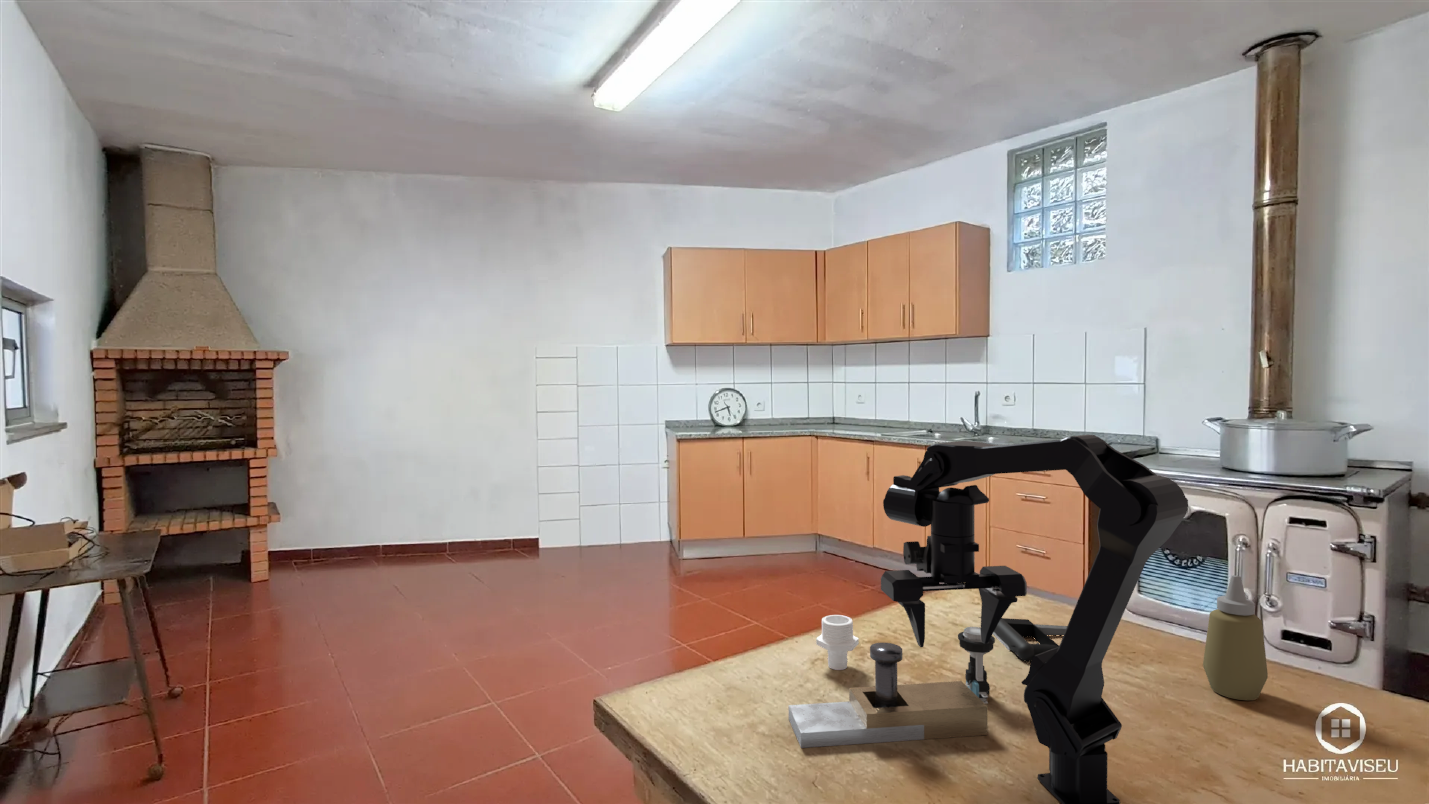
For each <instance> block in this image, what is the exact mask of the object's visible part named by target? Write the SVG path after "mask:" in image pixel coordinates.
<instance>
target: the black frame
mask: <svg viewBox="0 0 1429 804" xmlns="http://www.w3.org/2000/svg"><path fill="white" fill-rule="evenodd" d="M978 619H981V616H980V617H979V616H978ZM1067 626H1068V625H1055V624H1053V625H1051V624H1039V623H1038V624H1037V623H1036V624H1035V623H1033V622H1032V621H1031V620H1029V619H1023V618H1008V617H1007V618H1006V617H1004V618H1003V617H1002V618H1001V619H1000V621H999V623H998V625H997V627H996V629H995V630H994V632H993V634H992V636H993V637H994V638H995V639H997V640H998V641H999V642H1000V643H1001V644H1002V645H1003V646H1004V647H1005V648H1006V649H1007V650H1008V652H1010V653H1014V654H1015V655H1016V656H1017V657H1018V658H1019V659H1020V660H1021V661H1023V662H1031V661H1032V659H1033V657H1034V656H1036V655H1038V654H1041V653H1044V652H1046V651H1049V650H1052V649H1054V648H1057V647H1059V645H1060V644H1058V643H1056V642H1055V641H1054V640H1053V639H1052V638H1051V637H1050V636H1047V635H1064V633H1065V631H1066V628H1067ZM1025 638H1032V639H1034V638H1035V639H1034V640H1035V641H1036V642H1037V641H1038V642H1039V643H1040V644H1039V643H1038V642H1037V643H1029V641H1027V640H1026V639H1025Z"/></svg>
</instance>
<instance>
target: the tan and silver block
mask: <svg viewBox="0 0 1429 804" xmlns="http://www.w3.org/2000/svg"><path fill="white" fill-rule="evenodd" d="M848 690H849V691H848V692H849V693H848V696H849V697H848V698H849V701H837V702H836V701H835V702H821V703H820V702H819V703H803V704H790V705H789V704H788V721H789V722H790V726H791V728H792V730H793V733H794V735H795V737H796V739H797V742H798V744H799V746H800V748H801V749H803V748H819V747H820V748H821V747H833V746H846V745H847V746H848V745H861V744H862V745H863V744H876V743H889V742H902V741H903V742H905V741H916V740H917V741H918V740H919V741H921V740H932V739H933V740H934V739H944V738H946V739H948V738H960V737H975V736H977V737H978V736H988V735H989V734H988V731H989V730H988V725H989V724H988V719H989V718H988V717H989V716H988V715H989V714H988V710H989V709H988V705H987V704H985V703H984V702H985V701H982V700H981V699H980V698H979V697H977V696H976V695H975V694H974V693H973V692H972V691H971V690H970V689H969V688H968V687H967V686H966V684H965V683H964V682H963V681H962V680H957V681H956V680H955V681H941V682H925V683H924V682H923V683H909V684H908V683H905V684H897V707H884V708H875V686H873V685H872V686H860V687H858V686H857V687H849V688H848Z"/></svg>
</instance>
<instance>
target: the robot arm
mask: <svg viewBox="0 0 1429 804" xmlns="http://www.w3.org/2000/svg"><path fill="white" fill-rule="evenodd" d="M1064 470H1065V471H1067V472H1068V473H1069V474H1070V475H1072V477H1073V479H1075V481H1076V483H1077V485H1078V487H1079V488H1080V490H1081V491H1082V493H1083V494H1084V496H1086V498H1087V499H1088V500H1090V501H1091V502H1092V503H1093V504H1094V505H1095V506H1096V507H1098V508H1099V511H1098V516H1097V521H1096V526H1097V534H1098V541H1099V547H1098V551H1097V553H1096V556H1095V559H1094V560H1093V563H1092V566H1091V567H1090V570H1089V573H1088V575H1087V578H1086V580H1085V582H1084V586H1083V587H1082V590H1081V593H1080V595H1079V597H1078V599H1077V602H1076V605H1075V607H1074V608H1073V612H1072V614H1071V617H1070V618H1069V621H1068V623H1067V625H1066V626H1067V628H1066V631H1065V633H1064V636H1062V639H1061V641H1060V643H1059V644H1058V645H1059V647H1057V648H1054V649H1052V650H1049V651H1046V652H1044V653H1041V654H1038V655H1036V656H1034V657H1033V659H1032V661H1030V663H1029V664H1030V665H1029V670H1028V673H1027V675H1026V677H1025V678H1024V679H1023V680H1021V685H1024V686H1025V688H1024V691H1023V700H1024V701H1023V702H1024V703H1025V704H1026V707H1027V708H1028V711H1029V714H1030V717H1031V722H1032V724H1033V727H1034V731H1035V733H1036V734H1035V735H1036V737H1037V738H1036V739H1037V741H1038V743H1039V744H1040V745H1043V746H1045V747H1047V748H1048V752H1049V753H1048V755H1049V756H1048V761H1049V763H1048V770H1049V772H1048V773H1047V772H1046V773H1038V774H1037V780H1038V781H1039V782H1040V783H1041V784H1042V785H1043V786H1044V787H1045V788H1046V789H1047V790H1048V791H1049V792H1050V794H1051V795H1053V796H1054V797H1055V798H1056V800H1058V802H1060V804H1121V800H1120V799H1119V798H1118V797H1117V796H1116V795H1115V794H1114V793H1112V792H1111V791H1110V790H1109V789H1108V752H1107V751H1106V743H1108V742H1110V741H1113V740H1116V739H1117V738H1118V736H1119V734H1120V732H1121V729H1122V726H1123V725H1122V723H1121V721H1120V720H1119V718H1118V717H1117V716H1116V715H1115V713H1114V712H1113V711H1112V709H1111V708H1110V706H1109V705H1108V704H1107V703H1106V701H1105V700H1104V698H1103V691H1104V687H1105V679H1104V673H1103V672H1104V671H1103V661H1104V658H1105V656H1106V653H1107V652H1108V650H1109V647H1110V645H1111V643H1112V640H1113V638H1114V635H1115V634H1116V631H1117V629H1118V626H1119V624H1120V622H1121V619H1122V618H1123V615H1124V613H1125V611H1126V609H1127V606H1128V604H1129V602H1130V600H1131V597H1132V595H1133V593H1134V591H1135V588H1136V586H1137V583H1138V581H1139V579H1140V577H1141V574H1142V572H1143V570H1144V567H1145V565H1146V563H1147V562H1148V560H1149V559H1150V558H1151V556H1153V555H1154V553H1156V552H1157V551H1158V550H1159V549H1160V548H1161V546H1163V545H1164V544H1165V543H1166V542H1167V541H1168V540H1169V539H1170V538H1171V536H1172V535H1173V533H1174V532H1175V530H1176V529H1177V528H1178V526H1179V525H1180V524H1181V523H1182V521H1183V520H1184V519H1185V517H1186V515H1187V514H1188V509H1189V499H1188V498H1187V497H1186V495H1185V493H1184V490H1183V488H1181V487H1180V485H1178V483H1177V482H1175V480H1172V479H1171V478H1169V477H1165V476H1162V475H1158V474H1157V473H1155V472H1154V471H1152V470H1151V469H1150V468H1149V467H1147V465H1144V464H1143V463H1141V462H1139V461H1137V460H1135V459H1134V458H1132V457H1130V456H1128V455H1126V454H1124V453H1122V452H1121V451H1119V450H1116V449H1115V448H1114V447H1113V446H1111V445H1110V444H1109V443H1107V441H1105V440H1104V439H1102V438H1101V437H1099V436H1097V435H1095V434H1081V435H1080V434H1079V435H1072V436H1067V437H1064V438H1061V439H1060V438H1059V439H1050V440H1040V441H1032V442H1031V441H1029V442H1021V443H1019V442H1018V443H1009V444H1000V445H999V444H991V443H987V442H981V441H970V440H959V441H950V442H949V441H948V442H937V443H933V444H930V445H929V446H927V447H926V450H925V452H924V455H923V459H922V461H921V462H920V464H919V466H918V467H917V469H916V470H915V473H913V476H910V475H904V474H902V475H894V476H893V479H892V482H893V483H892V485H891V486H889V488H888V489H887V491H886V492H885V495H884V498H883V502H882V505H883V510H884V513H885V515H886V516H887V518H888V519H890V520H892V521H895V522H900V523H905V524H910V525H912V526H913V525H914V526H918V527H923V528H924V527H925V528H926V527H928V526H930V535H927V537H926V546H921V544H920V541H915V540H914V541H905V542H903V546H902V547H903V549H902V550H903V553H902V554H903V562H904V564H905V565H915V566H916V571H917V572H924V573H925V574H930V576H918V575H916V574H915V573H914V572H912V571H911V570H910V569H898V570H885V571H884V572H883V574H881V577H880V590H881V591H882V592H883V594H885V595H886V596H887V597H888V598H890V599H891V601H893V602H897V603H898V604H899V605H900V606H901V607H903V609H904V610H905V613H906V615H907V618H908V621H909V623H910V626H911V628H912V629H911V630H912V631H913V634H914V637H915V640H916V643H917V645H918V646H919V648H924V647H925V646H924V645H925V641H926V640H925V639H926V603H925V602H924V601H923V600H921V598H922V597H923V596H924V592H933V591H934V592H936V591H937V592H939V591H955V590H957V591H958V590H978V593H979V596H980V600H981V608H980V609H981V611H980V612H981V613H980V617H981V618H980V628H981V640H982V642H983V643H984V644H987V643H988V642H989V640H990V638H991V636H993V632H994V630H995V629H996V627H997V625H998V623H999V621H1000V619H1001V618H1003V616H1004V615H1005V613H1006V612H1007V611H1008V609H1009V607H1010V606H1011V605H1012V604H1013V603H1018V597H1026V596H1027V594H1028V590H1027V587H1028V585H1027V581H1026V578H1025V576H1024V575H1023V574H1022V573H1020V572H1018V571H1016V570H1014V569H1013V568H1011V567H1009V566H1007V565H991V566H990V565H987V566H986V565H985V566H982V567H981V568H980V570H979V573H978V572H975V567H976V566H975V559H976V558H975V553H978V552H980V544H979V543H978V542H975V506H977V505H982V504H988V503H989V502H990V498H989V497H988V496H987V495H986V494H985V493H984V492H982V491H981V489H980V488H979V486H978V484H977V485H976V484H972V485H967V486H966V485H965V486H964V487H963V488H958V487H957V488H956V487H952V486H956V485H958V484H962V483H969V482H974V481H977V480H981V479H985V478H989V477H991V476H992V477H993V476H994V475H999V474H1001V475H1002V474H1017V473H1031V472H1046V471H1047V472H1050V471H1064ZM945 487H947V488H945ZM940 488H945V489H942V491H940Z"/></svg>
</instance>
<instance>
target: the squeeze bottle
mask: <svg viewBox="0 0 1429 804" xmlns="http://www.w3.org/2000/svg"><path fill="white" fill-rule="evenodd" d="M1255 605H1256V603H1255V602H1254V601H1253V600H1251V599H1248V598H1247V597H1246V593H1245V589H1244V585H1243V581H1242V577H1241V576H1239V575H1235V574H1234V575H1231V576H1230V579H1229V583H1228V586H1227V590H1226V594H1225V595H1220V596H1217V599H1216V609H1213V610H1212V611H1210V612H1209V616H1208V622H1207V623H1208V624H1207V630H1206V631H1207V632H1206V639H1205V645H1204V653H1203V660H1202V666H1203V669H1204V673H1205V675H1206V677H1207V680H1208V683H1209V685H1210V688H1211V690H1213V692H1215V693H1216V694H1218V695H1220V696H1224V697H1226V698H1229V699H1234V700H1238V701H1255V700H1257V699H1258V698H1259V697H1260V695H1261V692H1262V690H1263V689H1264V687H1265V684H1266V682H1267V680H1268V677H1269V676H1268V675H1269V673H1268V663H1267V655H1266V645H1265V636H1264V629H1263V627H1264V625H1263V620H1262V619H1261V618H1260V617H1258V616H1257V615H1256V614H1255Z"/></svg>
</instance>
